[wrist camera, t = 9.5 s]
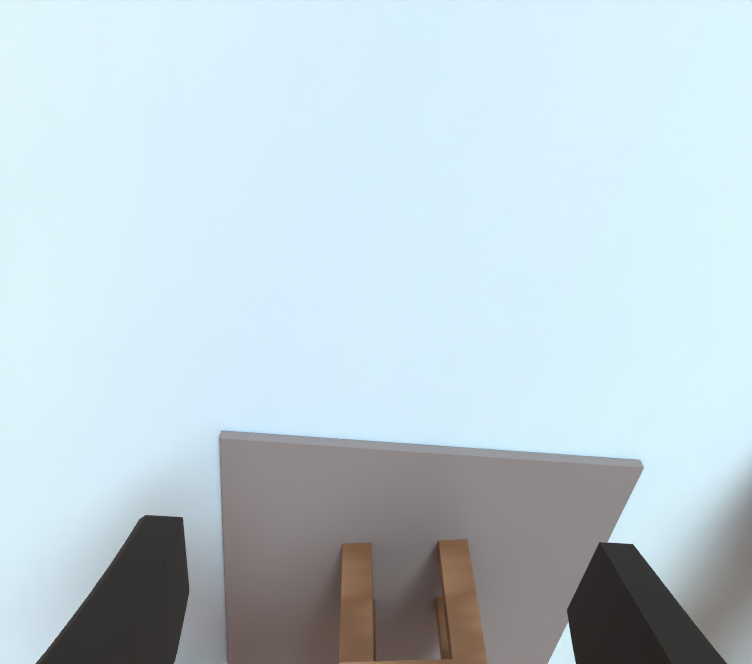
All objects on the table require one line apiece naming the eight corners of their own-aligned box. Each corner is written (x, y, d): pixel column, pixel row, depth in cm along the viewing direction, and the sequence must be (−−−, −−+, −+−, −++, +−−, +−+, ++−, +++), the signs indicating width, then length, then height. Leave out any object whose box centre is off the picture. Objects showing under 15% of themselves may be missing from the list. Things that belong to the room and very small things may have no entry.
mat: (639, 459, 24) (644, 467, 24) (536, 675, 33) (537, 683, 33) (221, 430, 23) (219, 438, 23) (229, 662, 32) (228, 670, 32)
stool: (467, 539, 26) (494, 705, 21) (461, 611, 29) (484, 773, 24) (342, 543, 26) (337, 710, 21) (349, 615, 29) (346, 778, 24)
